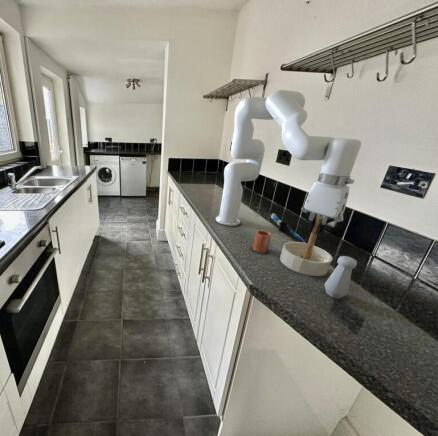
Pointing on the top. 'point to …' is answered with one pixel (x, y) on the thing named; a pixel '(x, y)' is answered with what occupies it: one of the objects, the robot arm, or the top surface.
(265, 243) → the pot
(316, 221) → the wooden spoon
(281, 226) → the knife
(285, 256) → the bowl
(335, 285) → the salt shaker
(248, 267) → the top surface
